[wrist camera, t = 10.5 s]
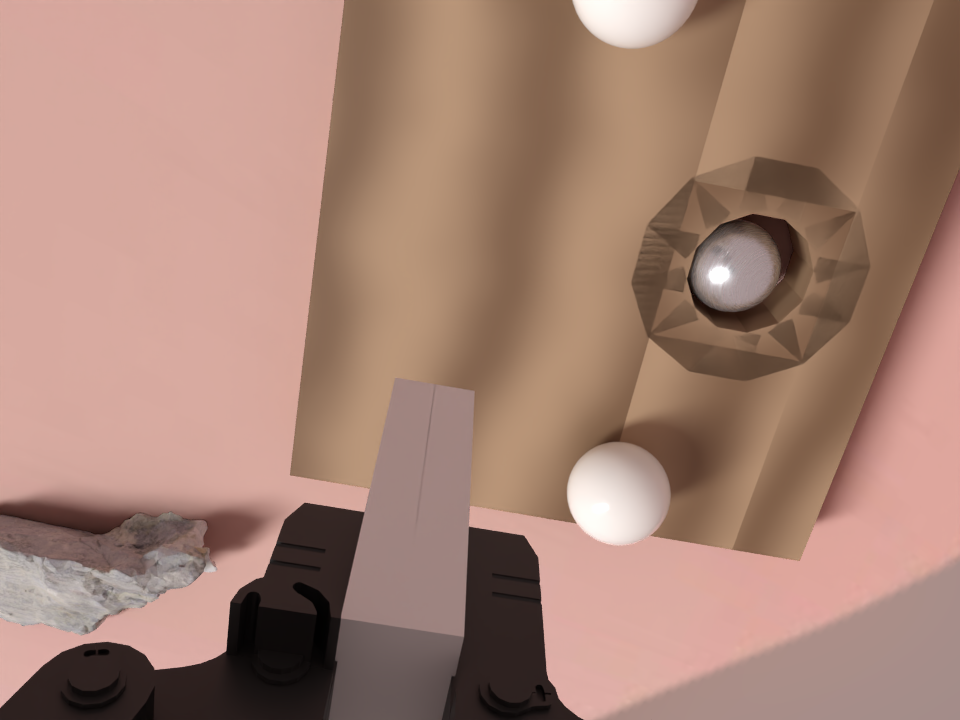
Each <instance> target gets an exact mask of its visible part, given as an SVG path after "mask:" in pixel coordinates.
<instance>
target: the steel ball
mask: <svg viewBox="0 0 960 720" xmlns="http://www.w3.org/2000/svg"><path fill="white" fill-rule="evenodd" d="M780 270H781V258H780V253H779V250H778V247H777V245H776V243H775V241H774V239H773V238H772V237H771V236H770V234H769V233H768V232H767V231H766V230H764V229H763V228H761V227H760V226H758V225H757V224H754V223H752V222H750V221H746V220H741V219H735V220H732V221H729V222H726V223H722V224H720V225H719V226H718V227H717V228H716V229H715V230H714V231H713V232H712V233H711V234H710V235H709V236H708V237H707V238H706V239H705V240H704V241H703V242H702V243H701V244H700V245H699V246H698V247H697V248H696V250H695V253H694V257H693V260H692V263H691V267H690V270H689V274H688V277H687V282H688V284H689V286H690V288H691V290H692V292H693V293H694V294H695V296H696V297H697V298H698V299H699V300H700V301H702V302H703V303H704V304H706V305H708V306H709V307H711V308H714V309H716V310H720V311H725V312H738V311H744V310H747V309H750V308H752V307H754V306H756V305H758V304H760V303H761V302H762V301H764V300H765V299H766V298H767V297H768V296H769V295H770V293H771V292H772V291H773V289H774V288H775V286H776V284H777V282H778V279H779V276H780Z"/></svg>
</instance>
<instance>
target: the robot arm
mask: <svg viewBox="0 0 960 720" xmlns="http://www.w3.org/2000/svg"><path fill="white" fill-rule="evenodd" d="M474 393H475V391H472V390H466V389H460V388H454V387H448V386H442V385H436V384H430V383H425V382H419V381H413V380H407V379H401V378H395V381H394V385H393V390H392V394H391V399H390V403H389V407H388V412H387V416H386V421H385V425H384V429H383V434H382V438H381V443H380V447H379V451H378V456H377V460H376V465H375V469H374V473H373V478H372V482H371V486H370V491H369V495H368V500H367V504H366V508H365V512H360V511H353V510H347V509H341V508H335V507H328V506H322V505H316V504H310V503H304V504H303V505H302V506H300V507H299V508H298V509H297V510H296V511H295V512H293V513H292V514H291V515H290V516H289V517H287V518H286V519H285V521H284V523H283V526H282V529H281V532H280V534H279V537H278V540H277V544H276V546H275V548H274V551H273V553H272V556H271V559H270V564H268V567H267V570H266V573H265V575H264V577H263V578H259V579H256V580H254V581H252V582H251V583H249V584H247V585H245V586H244V587H242V588H240V590H239V591H238V592H237V594H236V595H235V596H234V598H233V599H232V601H231V602H230V614H229V626H228V638H227V650H226V652H224V653H223V654H221V655H220V656H218V657H217V658H214V659H211V660H209V661H206V662H204V663H201V664H196V665H191V666H186V667H179V668H170V669H160V670H154V667H153V666H152V665H151V663H150V662H149V660H148V659H147V657H146V656H145V655H144V654H143V653H141V652H139V651H137V650H135V649H134V648H132V647H130V646H128V645H122V644H117V643H111V642H101V643H90V644H83V645H80V646H78V647H75V648H72V649H69V650H67V651H64V652H61V653H60V654H59V655H57V656H56V657H54V658H53V659H52V660H50V661H49V662H47V663H46V664H45V665H43V666H42V667H41V668H40V669H39V670H38V671H37V672H36V673H35V674H34V675H33V676H32V677H31V678H30V679H29V680H28V681H27V682H26V683H25V684H24V685H23V686H22V687H21V688H20V689H19V690H18V691H17V692H16V693H15V694H14V695H13V696H12V697H11V698H10V699H9V700H8V701H7V702H6V703H5V704H4V705H3V706H2V707H1V708H0V720H583V719H581V718H579V717H578V716H576V715H575V714H574V713H573V712H571V711H570V710H569V709H568V708H566V707H565V706H564V705H563V703H562V702H561V701H560V700H559V698H558V695H557V692H556V689H555V687H554V686H553V685H552V684H551V682H550V681H549V680H548V676H547V672H546V658H545V644H544V630H543V617H542V604H541V589H540V585H539V583H540V576H539V562H538V557H537V555H536V554H535V552H534V550H533V549H532V547H531V546H530V544H529V543H528V541H527V539H526V538H525V536H523V535H517V534H510V533H504V532H498V531H492V530H486V529H479V528H473V527H469V510H470V487H471V463H472V440H473V417H474Z"/></svg>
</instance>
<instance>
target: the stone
mask: <svg viewBox="0 0 960 720" xmlns="http://www.w3.org/2000/svg"><path fill="white" fill-rule="evenodd" d="M207 528H208V527H207V522H205V521H204V520H188V519H183V518H182V517H180V516H178V515H176V514H173V513H172V512H171V511H170V512H169V513H162V514H161V515H160V516H159V517H152V516H149V515H147V514H144V513H138V514H136V515H134V516H133V517H132V518H130V519H128V520H125V521H124V522H123V523H122V525H121V526H120V527H116V528H114V529H113V530H111V531H110V532H108V533H106V534H102V535H100V534H96V535H95V534H93V533H91V532H87V531H81V530H74V529H70V528H66V527H60V526H54V525H50V524H46V523H41V522H35V521H31V520H27V519H21V518H18V517H12V516H6V515H0V618H3V619H4V620H6V621H9V622H14V623H18V624H21V625H22V626H25V625H34V624H39V623H43V624H45V625H48V626H51V627H54V628H57V629H60V630H63V631H67V632H73V633H76V634H79V635H84V634H88V633H90V632H92V631H94V630H95V629H97V628H98V627H99V626H100V625H101V624H102V622H103V621H104V620H105V619H106V618H107V616H108V615H115V614H119V613H120V612H121V611H122V610H123V609H126V608H142V607H144V606H145V605H146V604H147V602H153V601H154V600H156V599H158V597H159V595H160V594H163V593H165V592H166V590H169V589H175V588H183V587H186V586H188V585H190V584H191V583H192V582H194V581H195V580H196V579H197V578H198V577H199V576H200V575H201V574H202V573H203V572H215V571H217V568H216V565H215V562H214V561H212V560H211V559H210V557H209V553H210V548H208V547H205V548H202V547H203V545H204V542H203V537H204V535H205V533H206V530H207Z"/></svg>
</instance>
